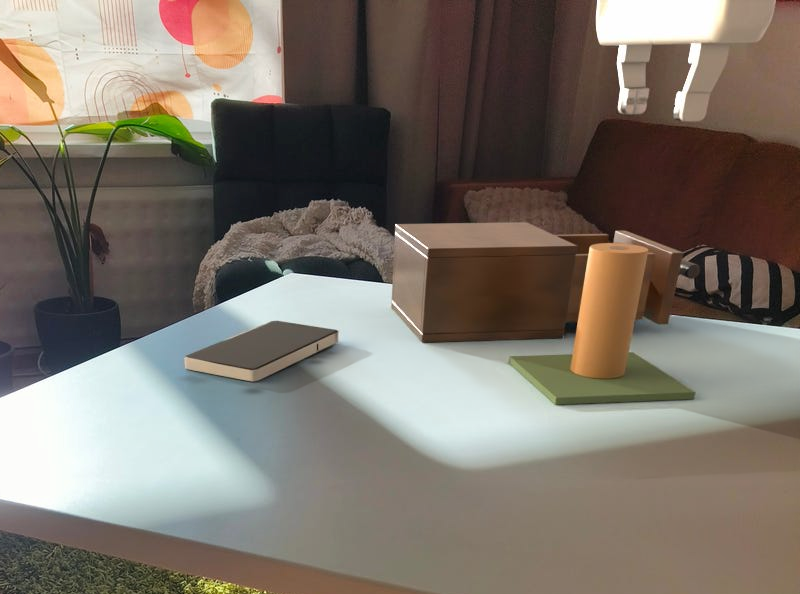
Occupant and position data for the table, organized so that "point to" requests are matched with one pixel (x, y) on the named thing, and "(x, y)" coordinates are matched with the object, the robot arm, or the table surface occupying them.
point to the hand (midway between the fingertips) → (657, 117)
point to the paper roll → (608, 309)
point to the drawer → (656, 279)
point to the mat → (598, 381)
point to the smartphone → (261, 350)
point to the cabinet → (481, 281)
